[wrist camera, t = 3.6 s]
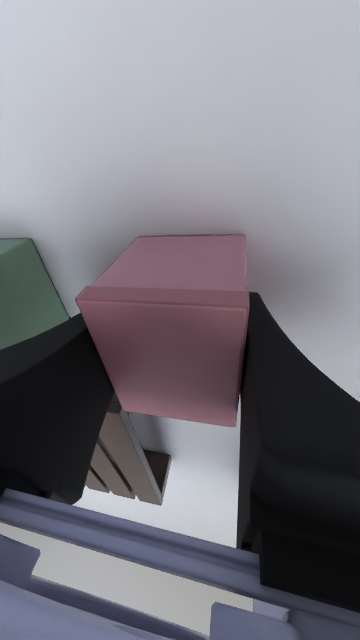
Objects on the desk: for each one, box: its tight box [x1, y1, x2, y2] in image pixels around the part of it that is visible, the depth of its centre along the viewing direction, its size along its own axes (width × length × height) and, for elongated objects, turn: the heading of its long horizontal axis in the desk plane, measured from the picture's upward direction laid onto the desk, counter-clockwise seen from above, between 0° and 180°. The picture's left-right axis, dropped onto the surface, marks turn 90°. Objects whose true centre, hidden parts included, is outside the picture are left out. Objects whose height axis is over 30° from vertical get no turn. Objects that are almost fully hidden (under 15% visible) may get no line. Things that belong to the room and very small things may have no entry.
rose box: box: [75, 235, 249, 427], centre depth 9 cm, size 5×6×5 cm
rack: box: [84, 391, 171, 506], centre depth 19 cm, size 13×16×6 cm
